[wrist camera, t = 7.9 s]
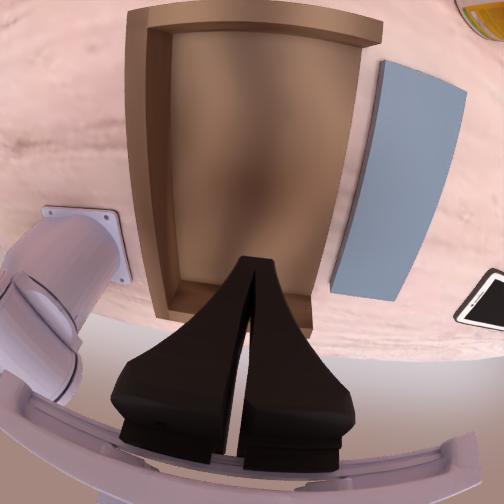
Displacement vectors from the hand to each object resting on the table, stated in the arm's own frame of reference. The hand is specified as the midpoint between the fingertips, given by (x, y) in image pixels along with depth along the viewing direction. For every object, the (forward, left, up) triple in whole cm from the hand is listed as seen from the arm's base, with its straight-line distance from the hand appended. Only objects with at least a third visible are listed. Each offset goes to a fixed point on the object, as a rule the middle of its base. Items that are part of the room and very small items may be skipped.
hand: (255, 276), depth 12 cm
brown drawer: (-2, +1, -9) cm, 10 cm away
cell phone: (+30, -9, -10) cm, 33 cm away
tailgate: (+6, +1, -9) cm, 11 cm away
